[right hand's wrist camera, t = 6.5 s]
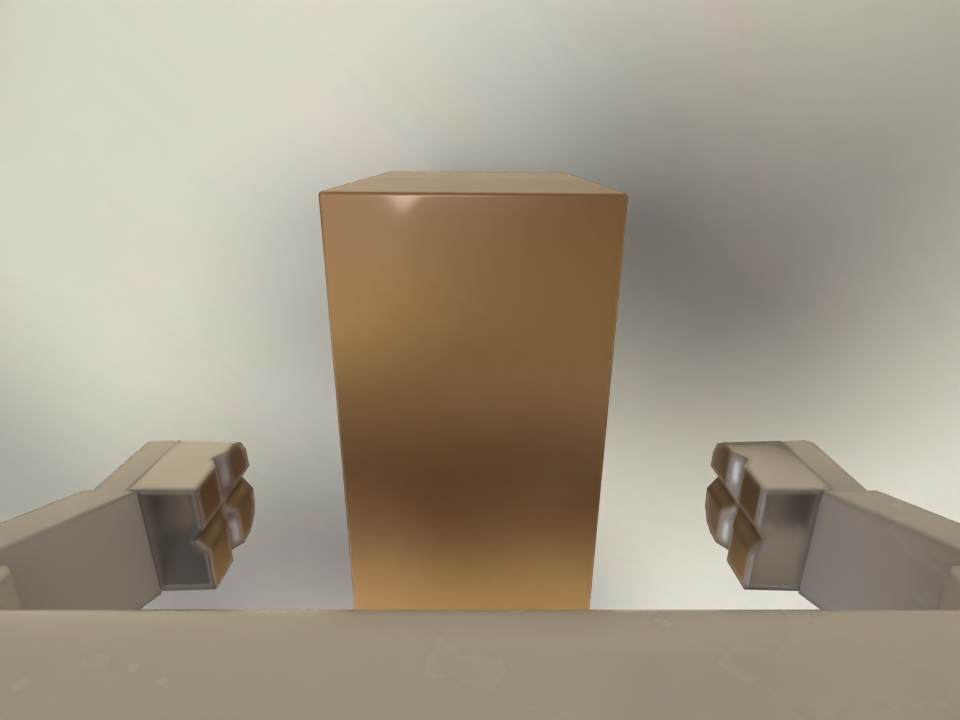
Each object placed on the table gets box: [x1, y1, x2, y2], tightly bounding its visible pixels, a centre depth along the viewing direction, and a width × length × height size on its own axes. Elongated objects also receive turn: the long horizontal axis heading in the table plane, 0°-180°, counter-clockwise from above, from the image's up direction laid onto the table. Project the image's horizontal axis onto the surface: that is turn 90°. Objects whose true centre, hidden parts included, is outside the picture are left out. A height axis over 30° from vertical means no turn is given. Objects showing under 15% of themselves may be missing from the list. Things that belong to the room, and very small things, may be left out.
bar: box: [319, 172, 628, 610], centre depth 19 cm, size 28×6×8 cm, turn 0°
